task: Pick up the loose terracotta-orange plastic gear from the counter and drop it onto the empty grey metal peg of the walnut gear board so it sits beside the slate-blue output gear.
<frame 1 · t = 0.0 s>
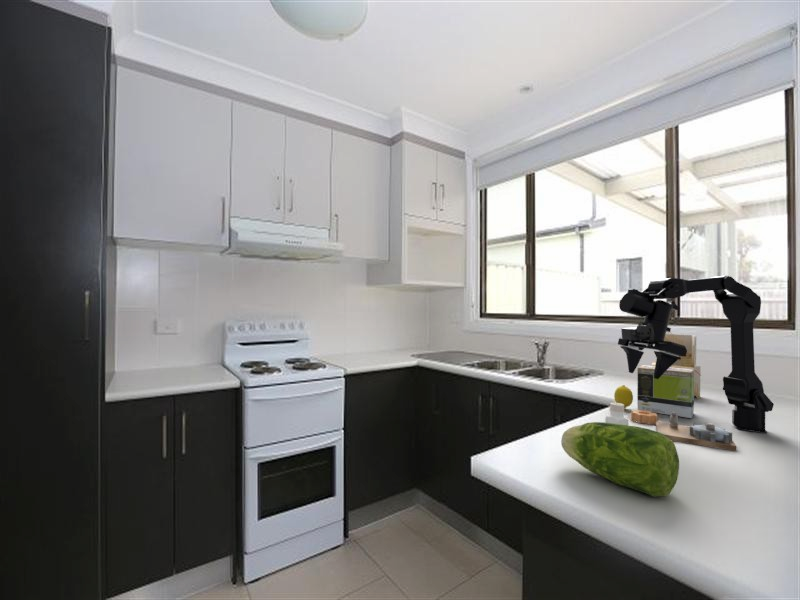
hand: (642, 375, 109), 15 cm above the worktop, tool pointing down, fingers open, 9 cm apart
gear: (644, 420, 119), on the worktop
gear board: (692, 437, 104), on the worktop
lemon: (623, 409, 134), on the worktop
pepper shaker: (616, 441, 100), on the worktop
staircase: (679, 398, 156), on the worktop
lettuce: (614, 481, 76), on the worktop
tea box: (665, 412, 131), on the worktop
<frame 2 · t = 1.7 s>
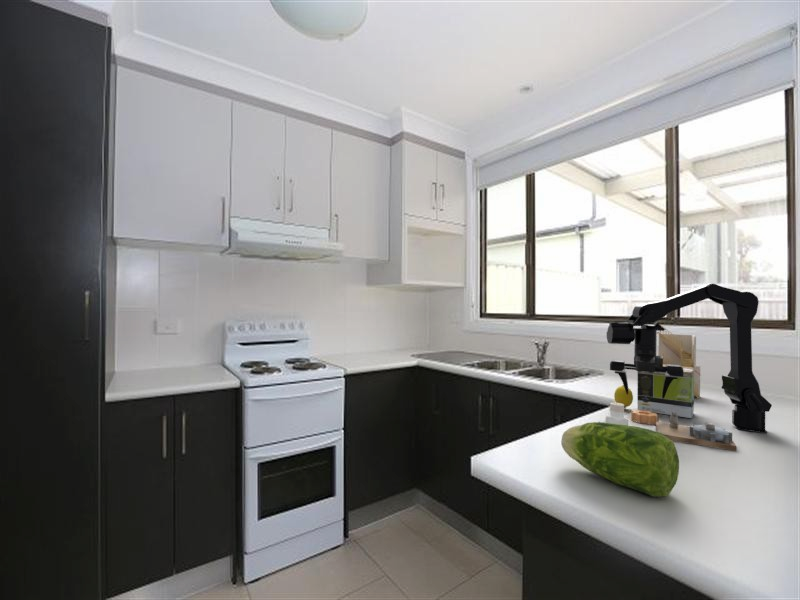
hand: (644, 396, 119), 8 cm above the worktop, tool pointing down, fingers open, 9 cm apart
nothing on the worktop moved.
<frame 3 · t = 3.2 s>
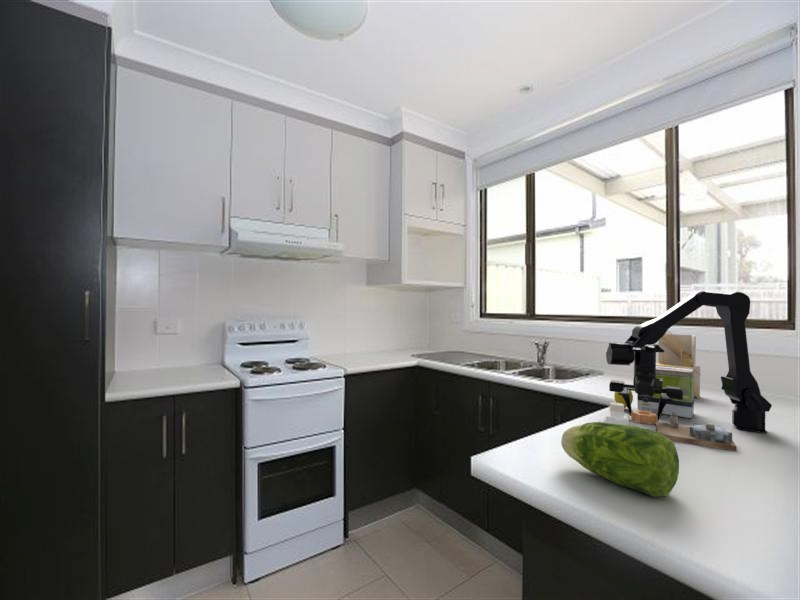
hand: (644, 417, 119), 1 cm above the worktop, tool pointing down, fingers closed on gear, 7 cm apart
gear: (644, 420, 119), on the worktop, touching gripper
everything else where it was.
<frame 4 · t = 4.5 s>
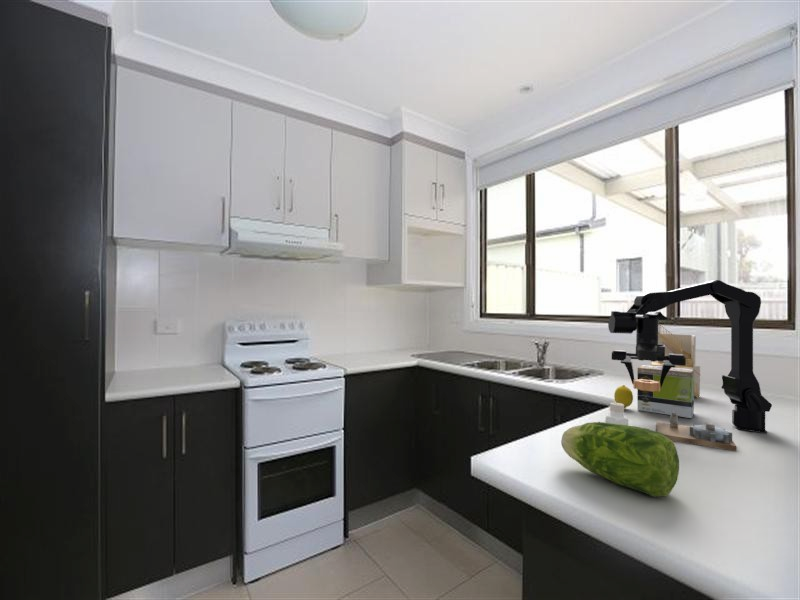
hand: (646, 385, 119), 11 cm above the worktop, tool pointing down, fingers closed on gear, 7 cm apart
gear: (646, 389, 119), point 10 cm above the worktop, touching gripper
everything else where it was.
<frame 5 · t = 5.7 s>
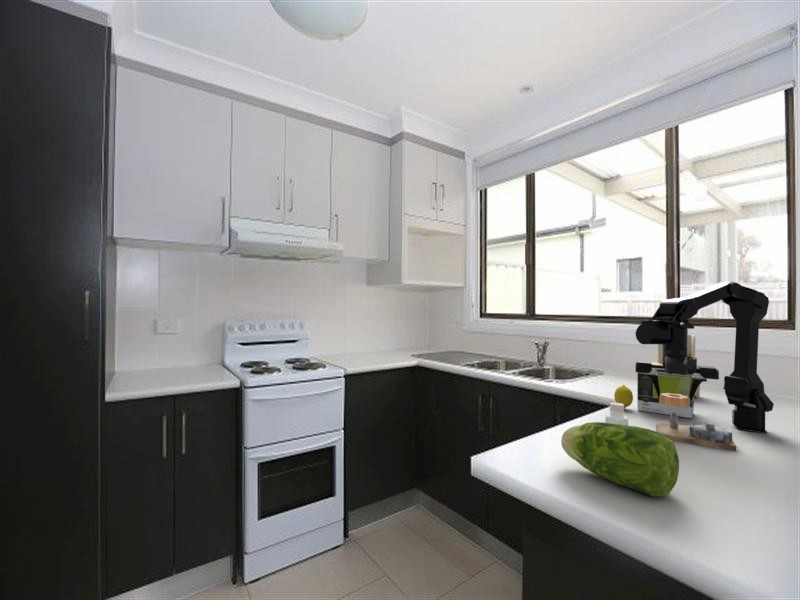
hand: (674, 400, 109), 9 cm above the worktop, tool pointing down, fingers closed on gear, 7 cm apart
gear: (674, 404, 109), point 8 cm above the worktop, touching gripper
everything else where it was.
when the fingers open (5 cm above the worktop, at t = 7.5 s): gear drops 3 cm, resting on gear board.
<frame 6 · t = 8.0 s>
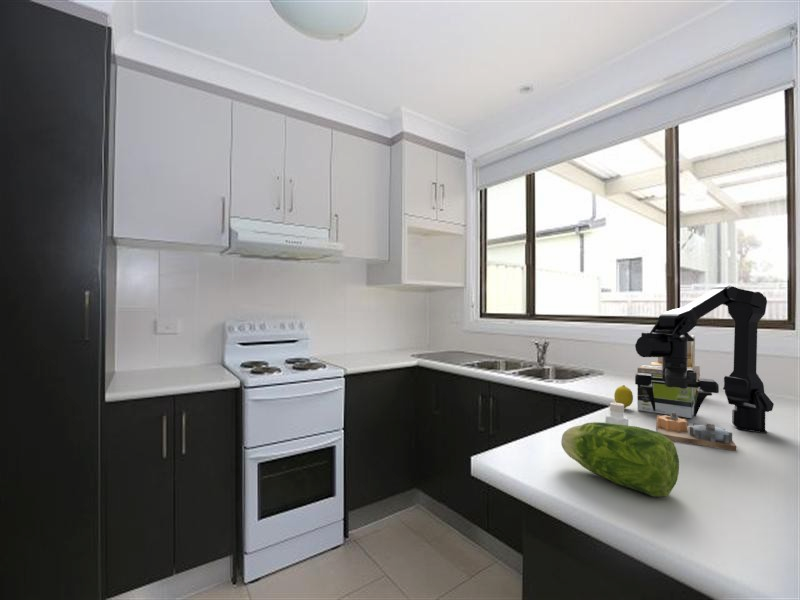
hand: (674, 413, 109), 5 cm above the worktop, tool pointing down, fingers open, 9 cm apart
gear: (671, 427, 109), point 1 cm above the worktop, touching gear board
everything else where it was.
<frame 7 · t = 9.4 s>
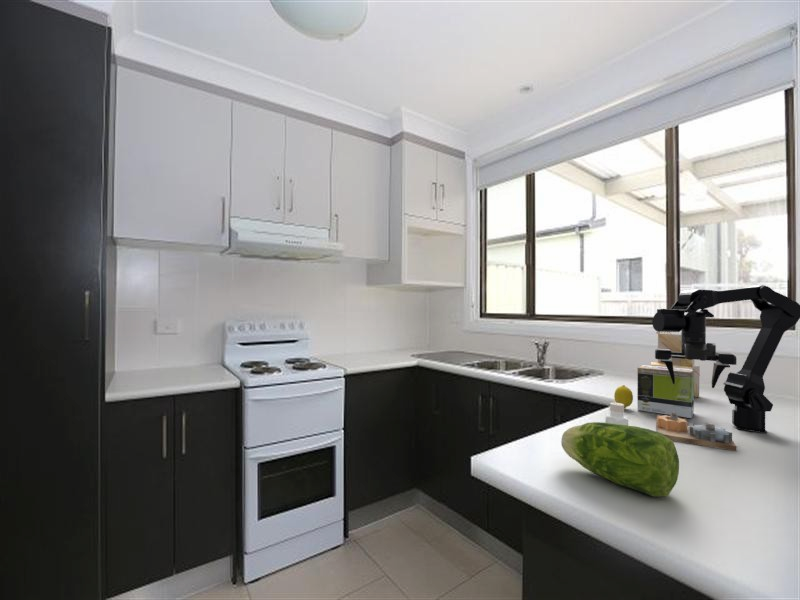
hand: (692, 385, 114), 12 cm above the worktop, tool pointing down, fingers open, 9 cm apart
nothing on the worktop moved.
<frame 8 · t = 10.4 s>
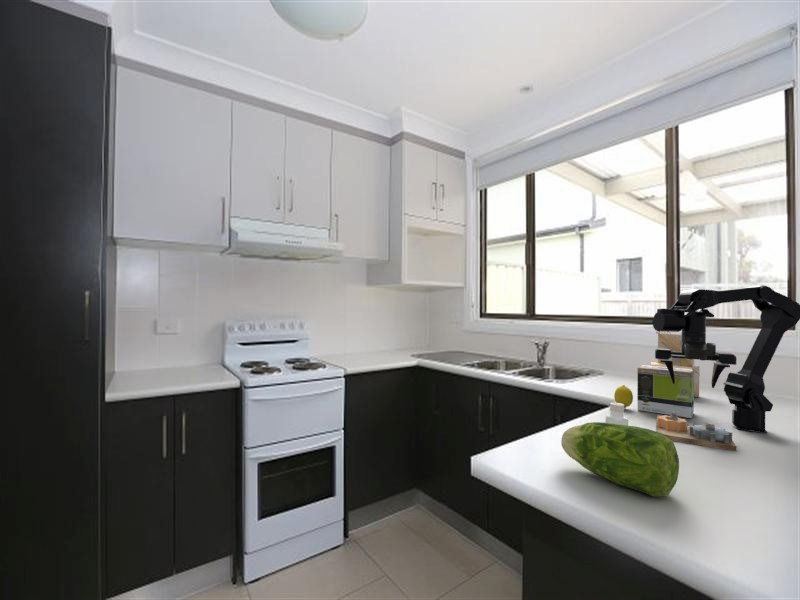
hand: (692, 385, 114), 12 cm above the worktop, tool pointing down, fingers open, 9 cm apart
nothing on the worktop moved.
at the end: gear 0.5 cm from the target spot on the gear board, point 1.2 cm above the gear board's base; gear tilted 0°; the gripper is holding nothing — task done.
